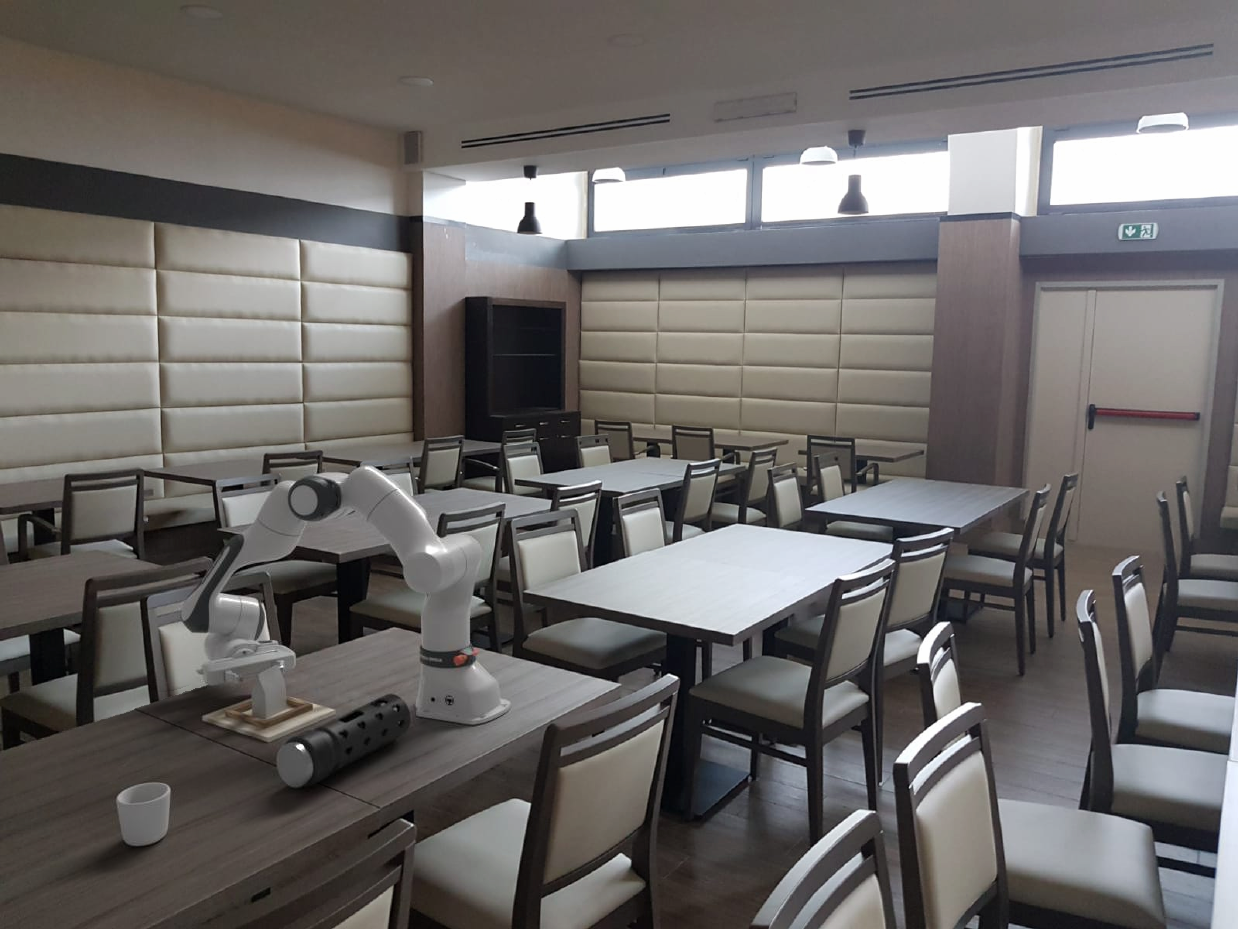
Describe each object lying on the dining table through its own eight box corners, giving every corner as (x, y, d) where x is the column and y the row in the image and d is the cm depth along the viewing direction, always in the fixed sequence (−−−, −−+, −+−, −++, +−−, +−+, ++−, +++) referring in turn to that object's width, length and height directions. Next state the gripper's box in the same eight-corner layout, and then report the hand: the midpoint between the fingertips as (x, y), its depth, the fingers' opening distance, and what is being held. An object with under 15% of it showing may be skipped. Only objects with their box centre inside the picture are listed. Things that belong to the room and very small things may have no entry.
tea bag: (286, 708, 206) (285, 665, 204) (266, 719, 199) (264, 675, 198) (272, 706, 207) (271, 664, 206) (252, 717, 200) (250, 673, 199)
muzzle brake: (412, 744, 190) (411, 696, 189) (311, 801, 165) (309, 746, 164) (377, 735, 194) (376, 688, 193) (273, 789, 169) (271, 736, 168)
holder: (335, 714, 205) (335, 704, 205) (268, 742, 190) (268, 731, 189) (270, 695, 216) (270, 686, 216) (202, 720, 201) (202, 710, 201)
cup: (138, 819, 158) (136, 775, 157) (186, 817, 158) (184, 773, 157) (109, 852, 147) (107, 805, 146) (160, 850, 148) (158, 803, 147)
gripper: (193, 655, 208) (212, 671, 198) (282, 638, 221) (304, 652, 211) (194, 682, 209) (213, 699, 198) (282, 663, 222) (305, 679, 212)
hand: (261, 675), depth 205 cm, fingers open, 8 cm apart
